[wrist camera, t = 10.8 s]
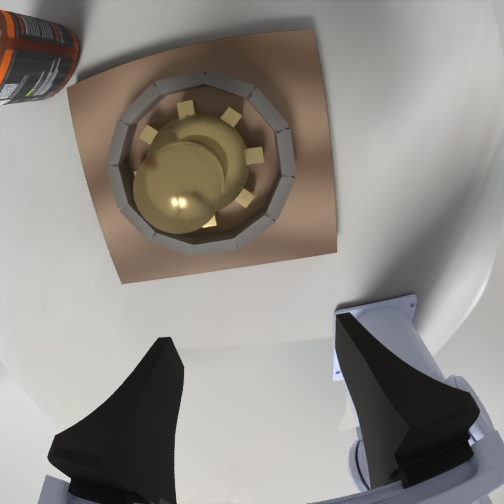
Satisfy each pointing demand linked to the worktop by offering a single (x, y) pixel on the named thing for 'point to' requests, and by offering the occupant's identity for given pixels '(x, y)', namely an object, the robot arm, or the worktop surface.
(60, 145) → the worktop surface
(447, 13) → the worktop surface
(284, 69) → the collar board
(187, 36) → the worktop surface
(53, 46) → the supplement bottle
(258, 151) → the planet gear
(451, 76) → the worktop surface
